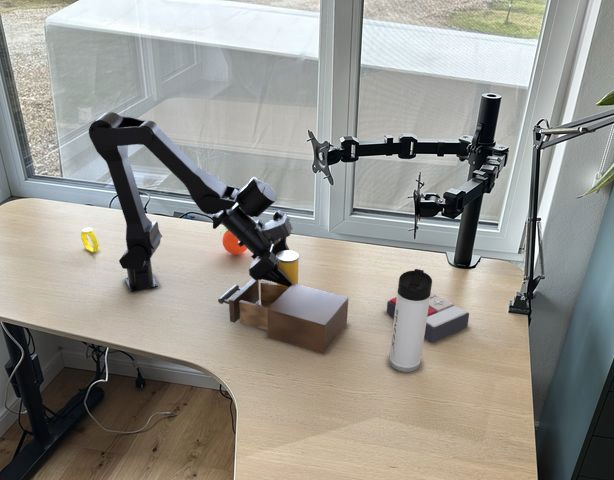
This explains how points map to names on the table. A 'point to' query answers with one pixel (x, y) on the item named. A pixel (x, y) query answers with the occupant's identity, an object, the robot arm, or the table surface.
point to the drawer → (252, 302)
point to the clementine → (232, 243)
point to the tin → (289, 265)
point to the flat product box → (439, 318)
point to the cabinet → (307, 317)
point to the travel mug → (410, 320)
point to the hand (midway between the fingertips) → (293, 275)
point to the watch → (93, 238)
